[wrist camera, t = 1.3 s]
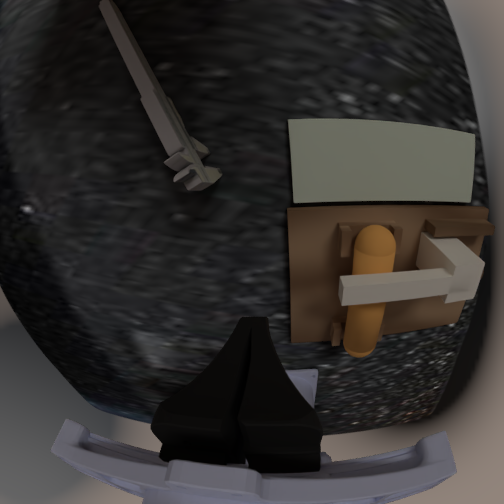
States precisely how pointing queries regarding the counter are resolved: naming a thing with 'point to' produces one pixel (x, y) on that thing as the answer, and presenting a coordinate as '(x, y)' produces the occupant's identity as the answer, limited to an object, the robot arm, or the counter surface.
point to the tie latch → (420, 276)
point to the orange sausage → (370, 315)
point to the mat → (379, 161)
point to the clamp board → (341, 263)
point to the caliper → (161, 108)
